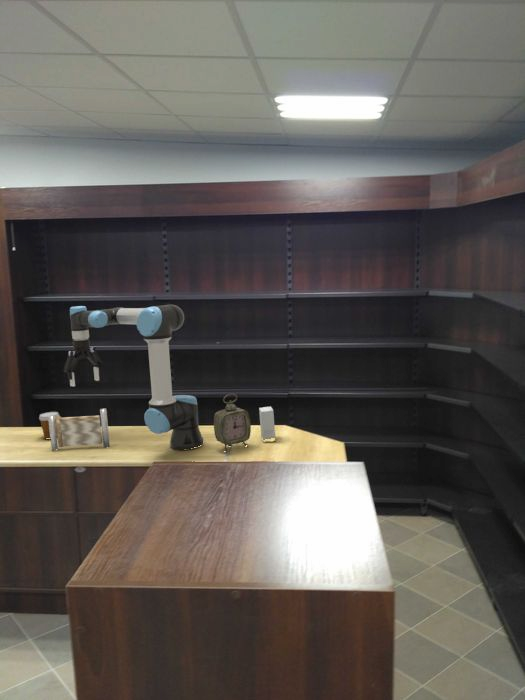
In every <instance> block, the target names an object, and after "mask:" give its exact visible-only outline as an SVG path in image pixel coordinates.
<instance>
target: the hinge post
mask: <svg viewBox="0 0 525 700" xmlns="http://www.w3.org/2000/svg"><path fill="white" fill-rule="evenodd" d="M99 413H100V415H99V417H100V425H101V436H102V446H103V449H108V448H110V447H111V445H110V437H109V436H110V434H109V433H110V432H109V424H108V411H107V408H105V407H104V408H100V409H99ZM107 447H108V448H107Z"/></svg>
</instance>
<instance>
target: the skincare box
mask: <svg viewBox="0 0 525 700" xmlns="http://www.w3.org/2000/svg"><path fill="white" fill-rule="evenodd" d="M258 411H259V422H260V425H259V426H260V436H261V437H262V438H263V440H265V439H271V438H275V439H276V427H275V415H274V409H273V407H272V406H264V407H259V409H258ZM261 437H260V438H261ZM262 438H261V439H262ZM263 440H262V441H263Z"/></svg>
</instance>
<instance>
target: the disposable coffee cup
mask: <svg viewBox="0 0 525 700" xmlns="http://www.w3.org/2000/svg"><path fill="white" fill-rule="evenodd" d="M48 416H55V417H58V416H60V414H59V412H58V411H49V412H44V413H40V414H39V417H38V419H39V421H40V425H41V429H42V433H43V436H44V439H45V438H50V430H49V421H48ZM55 424H56V419H55ZM56 434H57V428H56Z"/></svg>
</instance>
